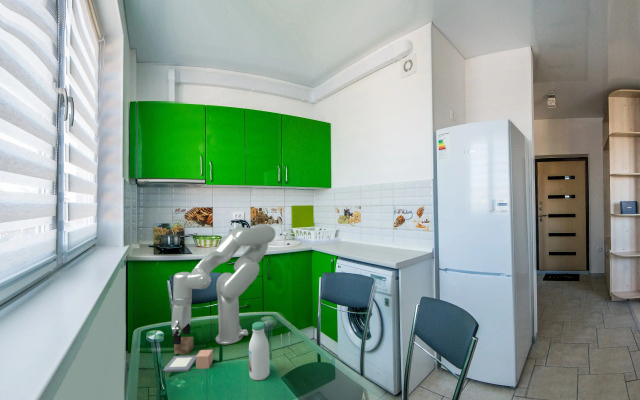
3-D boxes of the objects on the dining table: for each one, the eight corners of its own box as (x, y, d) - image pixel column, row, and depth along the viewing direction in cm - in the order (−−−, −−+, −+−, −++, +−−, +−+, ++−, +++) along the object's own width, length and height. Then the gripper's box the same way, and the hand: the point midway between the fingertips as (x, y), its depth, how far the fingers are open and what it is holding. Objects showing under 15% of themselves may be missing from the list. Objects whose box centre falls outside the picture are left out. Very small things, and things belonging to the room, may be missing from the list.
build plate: (198, 357, 131) (197, 355, 131) (188, 370, 121) (188, 368, 121) (174, 357, 131) (174, 355, 131) (163, 371, 121) (162, 369, 121)
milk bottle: (273, 370, 120) (272, 320, 119) (263, 382, 112) (262, 329, 112) (256, 367, 122) (254, 318, 122) (245, 378, 115) (243, 326, 114)
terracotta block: (212, 361, 127) (212, 349, 127) (208, 368, 122) (208, 356, 122) (200, 361, 127) (200, 350, 127) (196, 368, 122) (195, 356, 122)
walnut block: (193, 347, 139) (193, 336, 139) (188, 354, 133) (187, 343, 133) (180, 347, 139) (180, 337, 139) (174, 354, 133) (173, 343, 133)
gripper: (182, 294, 144) (181, 330, 144) (164, 307, 127) (163, 348, 127) (198, 294, 144) (197, 330, 145) (182, 307, 127) (181, 348, 127)
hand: (181, 338), depth 136 cm, fingers open, 9 cm apart
